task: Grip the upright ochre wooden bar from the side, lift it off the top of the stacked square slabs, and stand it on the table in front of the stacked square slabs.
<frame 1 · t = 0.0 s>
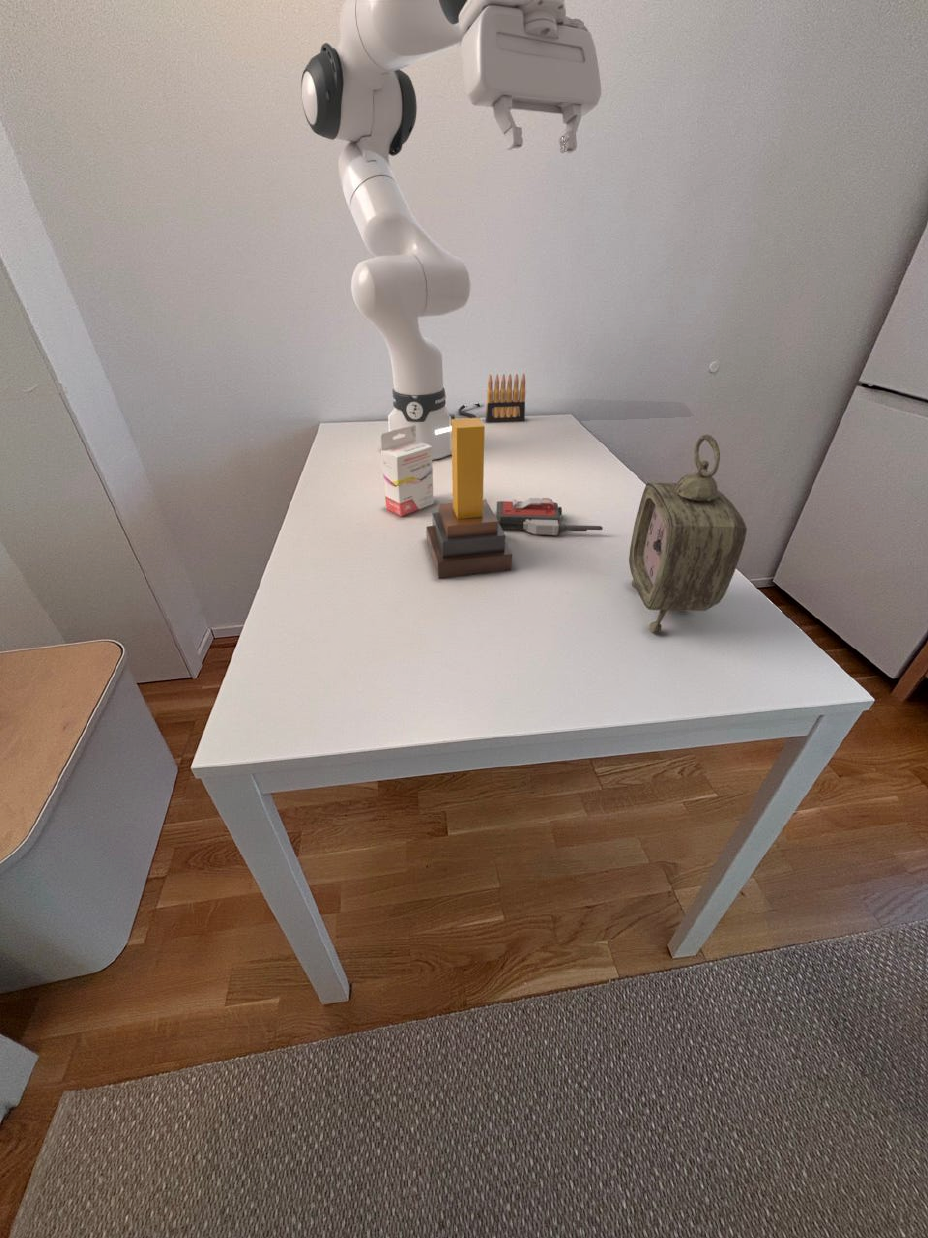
hand: (542, 149, 69), 52 cm above the table, tool tilted 20°, fingers open, 8 cm apart
stacked square slabs: (467, 555, 87), on the table
tabletop clock: (663, 610, 75), on the table
ammunition clip: (504, 421, 143), on the table
ink cartridge box: (410, 507, 102), on the table
bar: (467, 512, 82), point 8 cm above the table, touching stacked square slabs
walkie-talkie: (543, 526, 96), on the table
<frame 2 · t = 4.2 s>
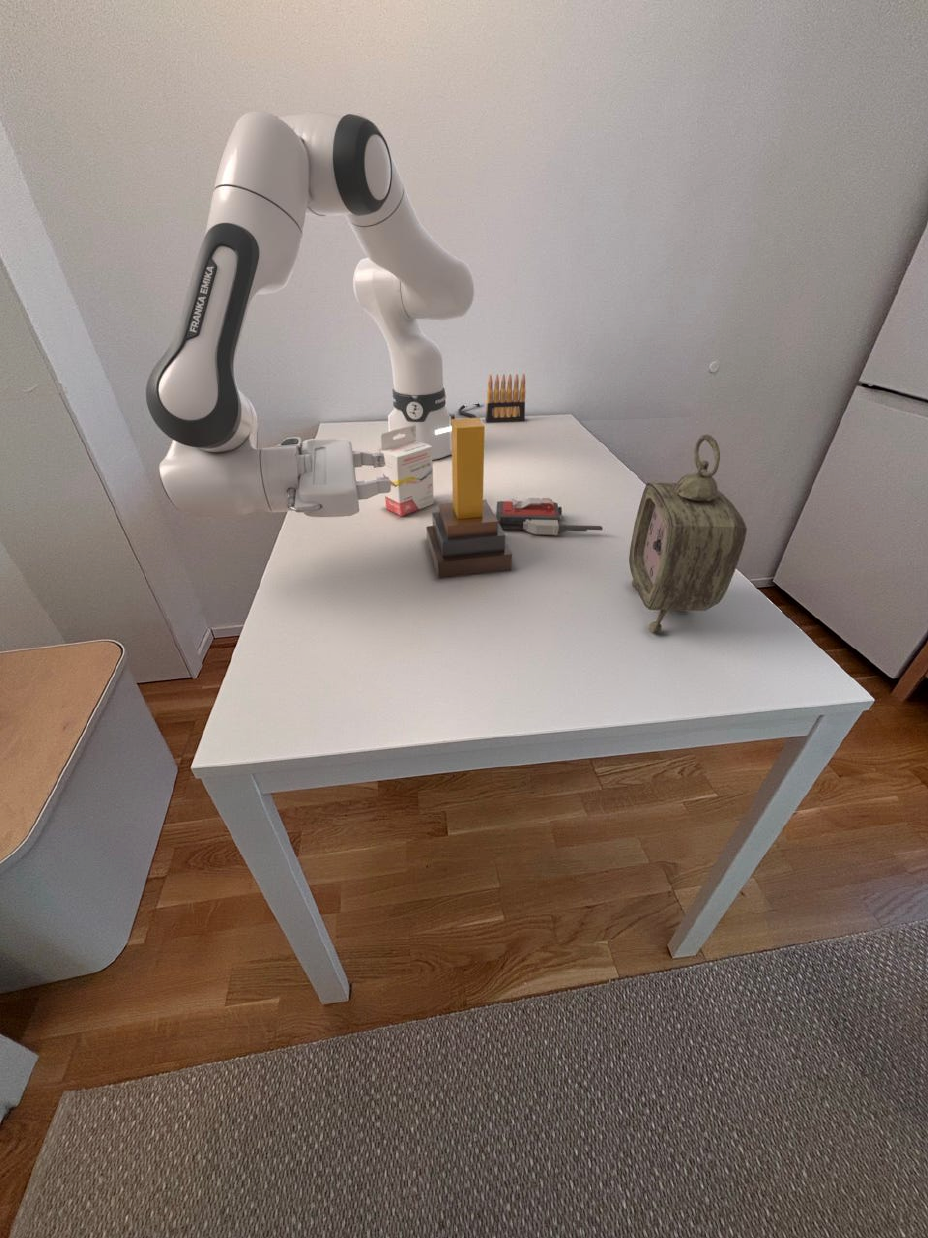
hand: (387, 471, 75), 16 cm above the table, tool horizontal, fingers open, 8 cm apart
nothing on the table moved.
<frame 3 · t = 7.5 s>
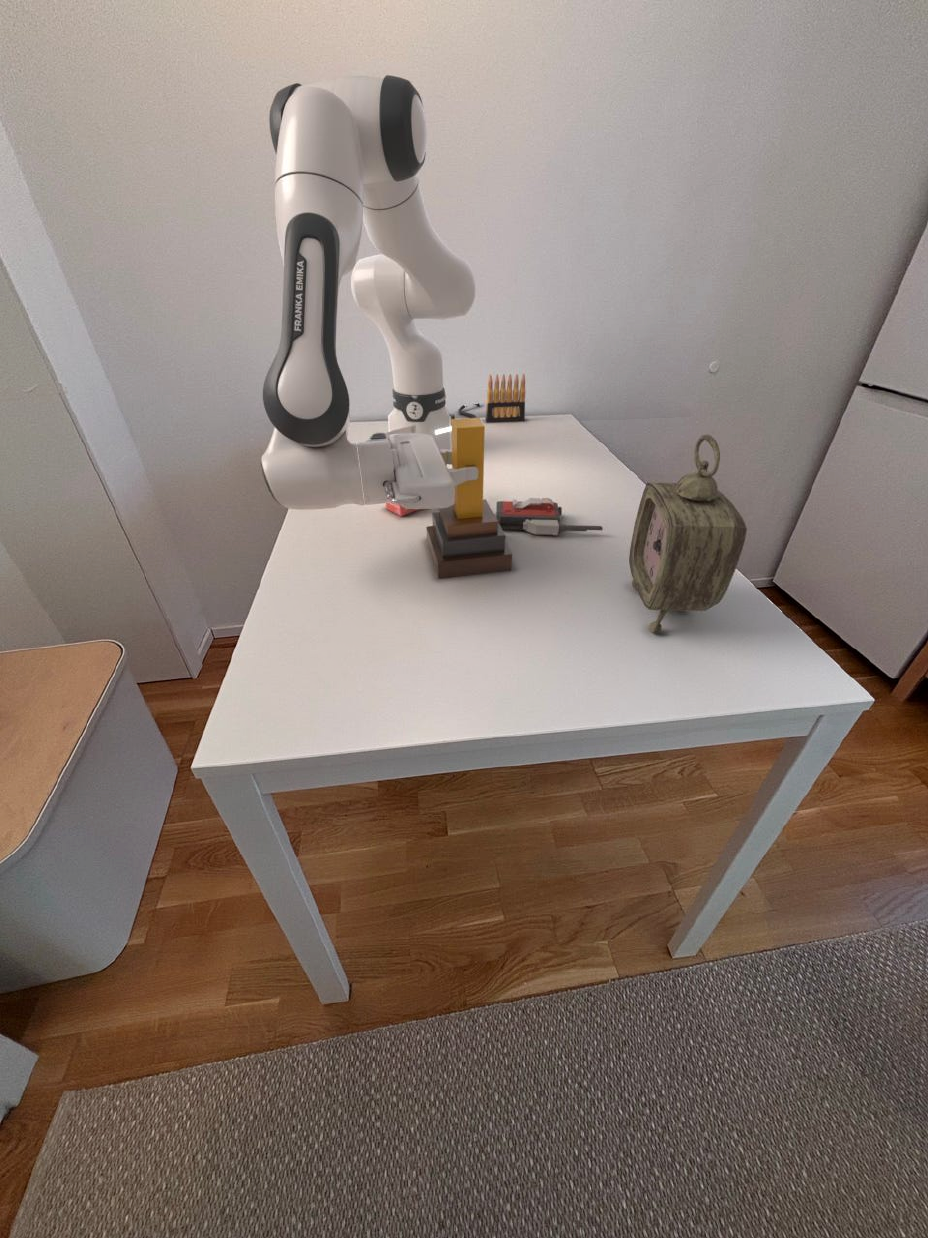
hand: (473, 464, 78), 16 cm above the table, tool horizontal, fingers closed on bar, 4 cm apart
bar: (467, 512, 82), point 8 cm above the table, touching gripper, stacked square slabs
everything else where it was.
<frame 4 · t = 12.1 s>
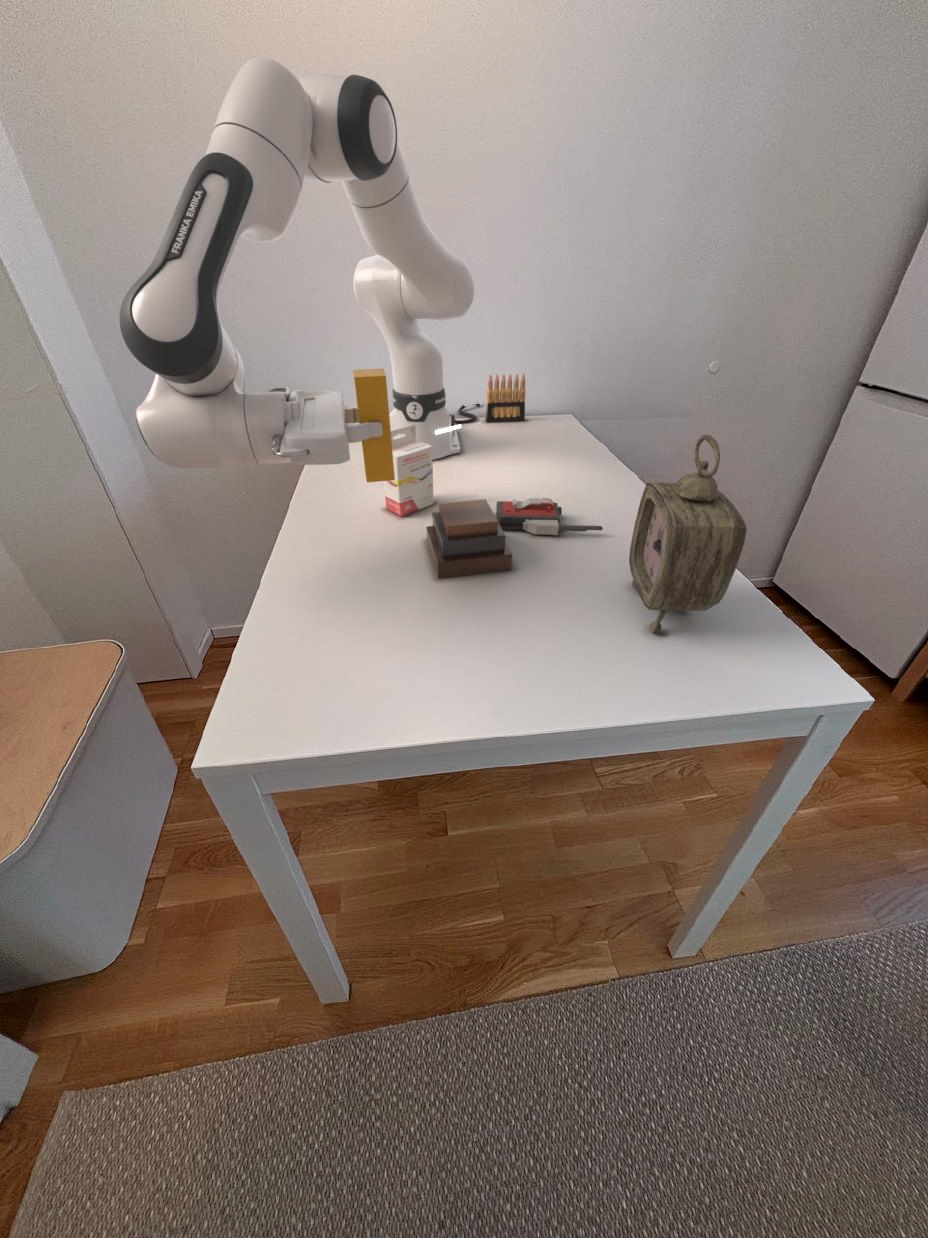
hand: (380, 421, 71), 23 cm above the table, tool horizontal, fingers closed on bar, 4 cm apart
bar: (379, 475, 76), point 15 cm above the table, touching gripper
everything else where it was.
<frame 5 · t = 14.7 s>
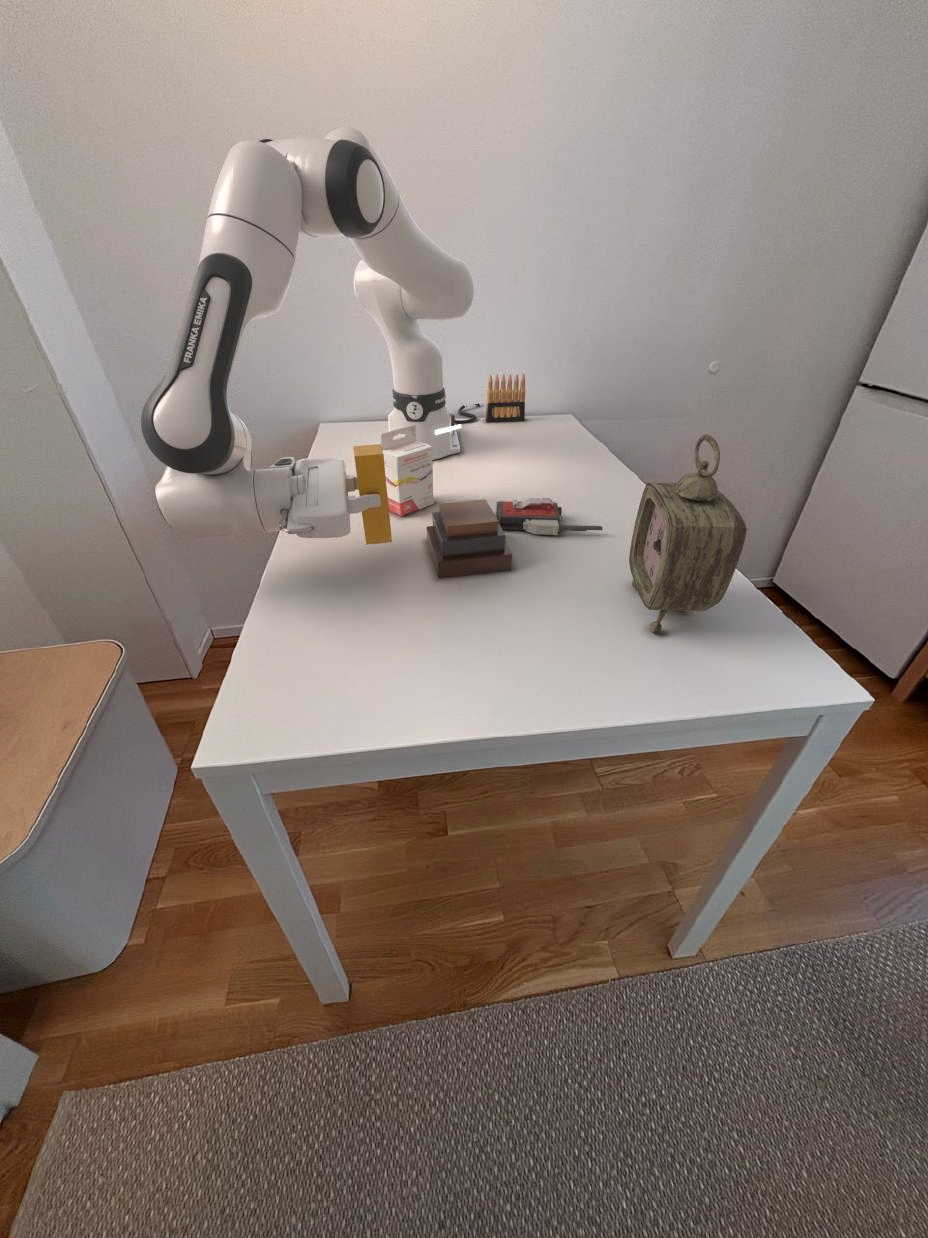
hand: (378, 491, 77), 13 cm above the table, tool horizontal, fingers closed on bar, 4 cm apart
bar: (378, 537, 82), point 5 cm above the table, touching gripper
everything else where it was.
when the fingers open (8 cm above the table, at t = 16.5 s): bar stays where it is, on the table.
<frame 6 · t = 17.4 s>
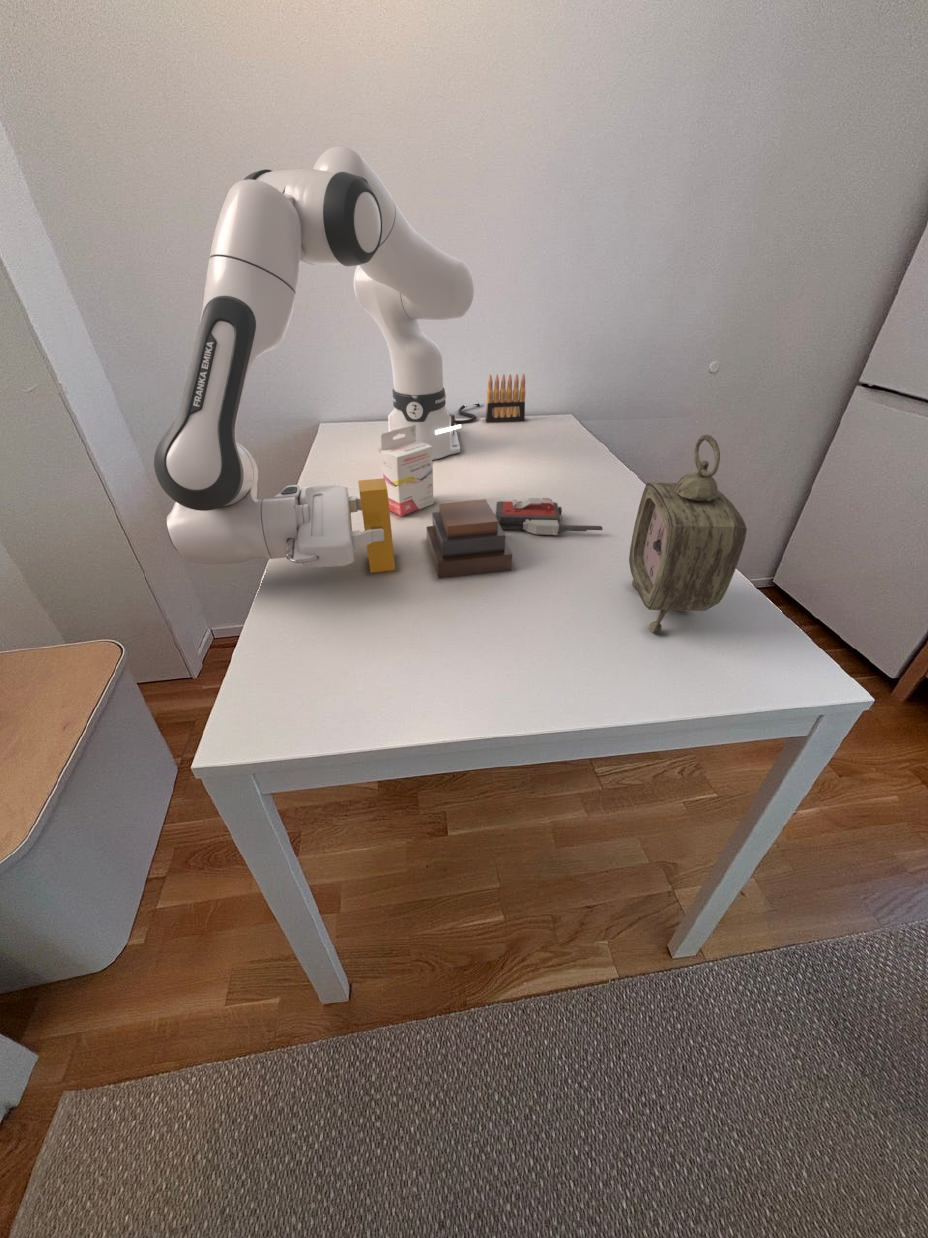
hand: (381, 518, 80), 8 cm above the table, tool horizontal, fingers open, 8 cm apart
bar: (382, 565, 85), on the table
everything else where it was.
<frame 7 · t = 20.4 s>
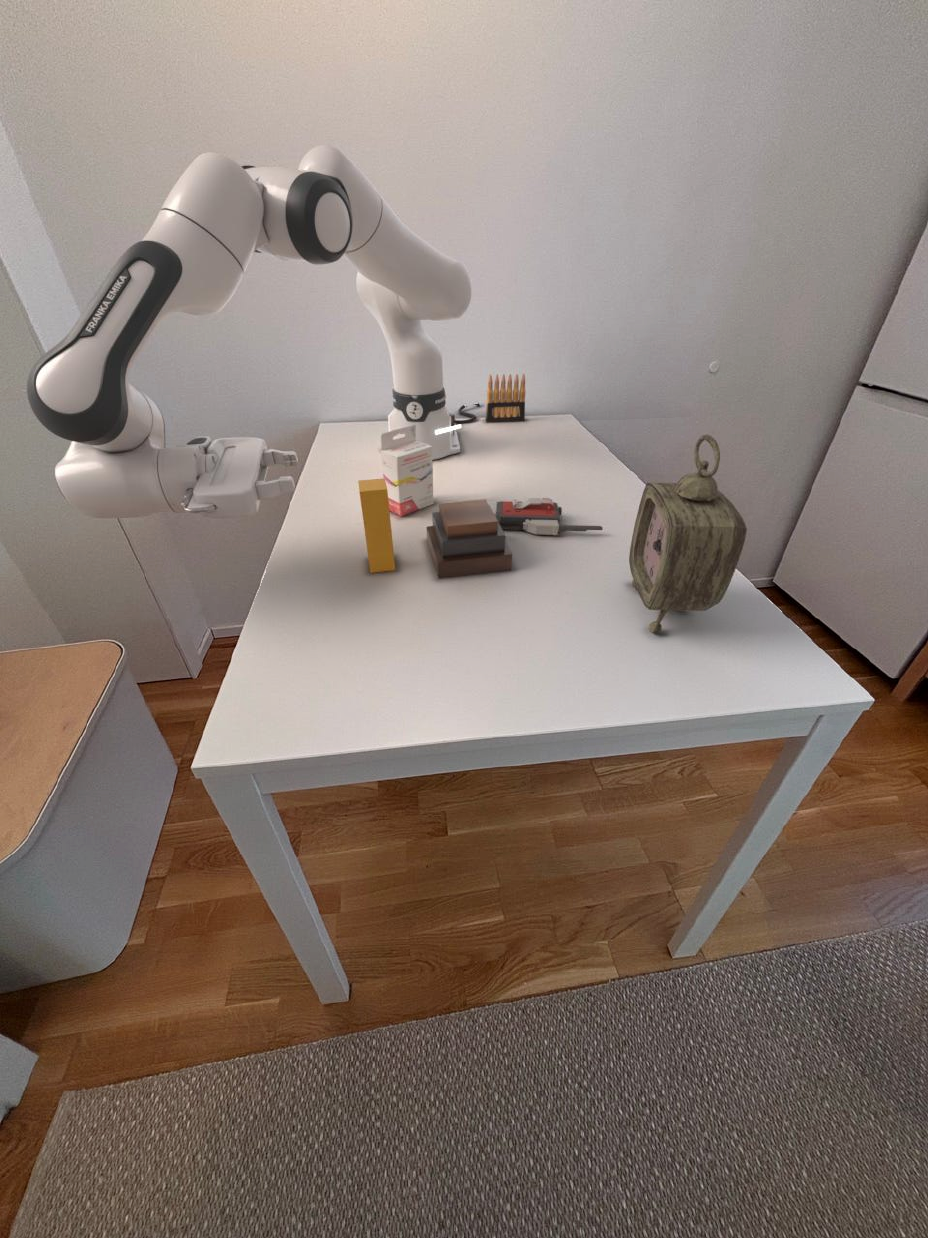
hand: (295, 470, 74), 16 cm above the table, tool horizontal, fingers open, 8 cm apart
nothing on the table moved.
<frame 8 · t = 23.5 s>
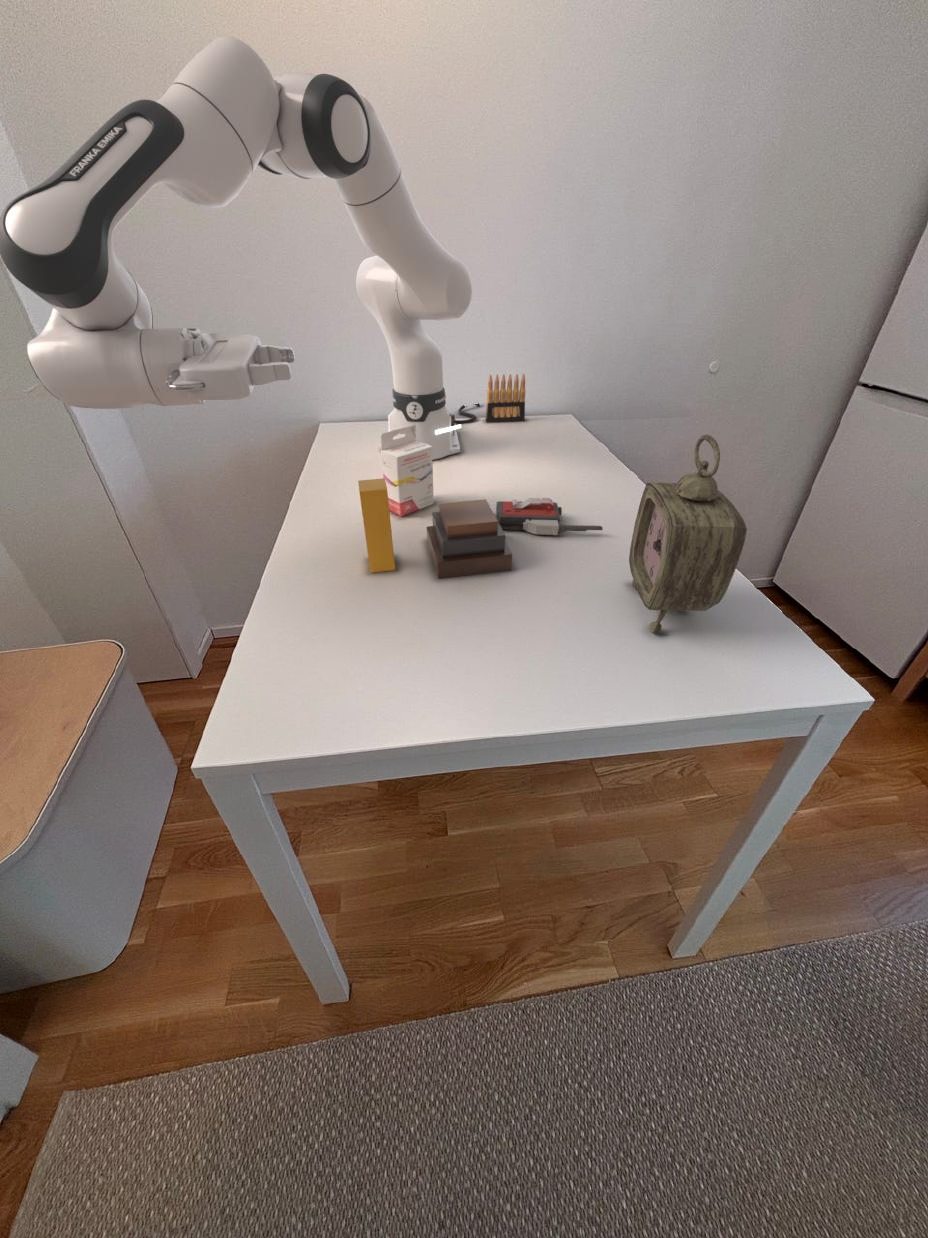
hand: (292, 362, 68), 30 cm above the table, tool horizontal, fingers open, 8 cm apart
nothing on the table moved.
at the end: bar on the table; bar touching table; bar tilted 0° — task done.
